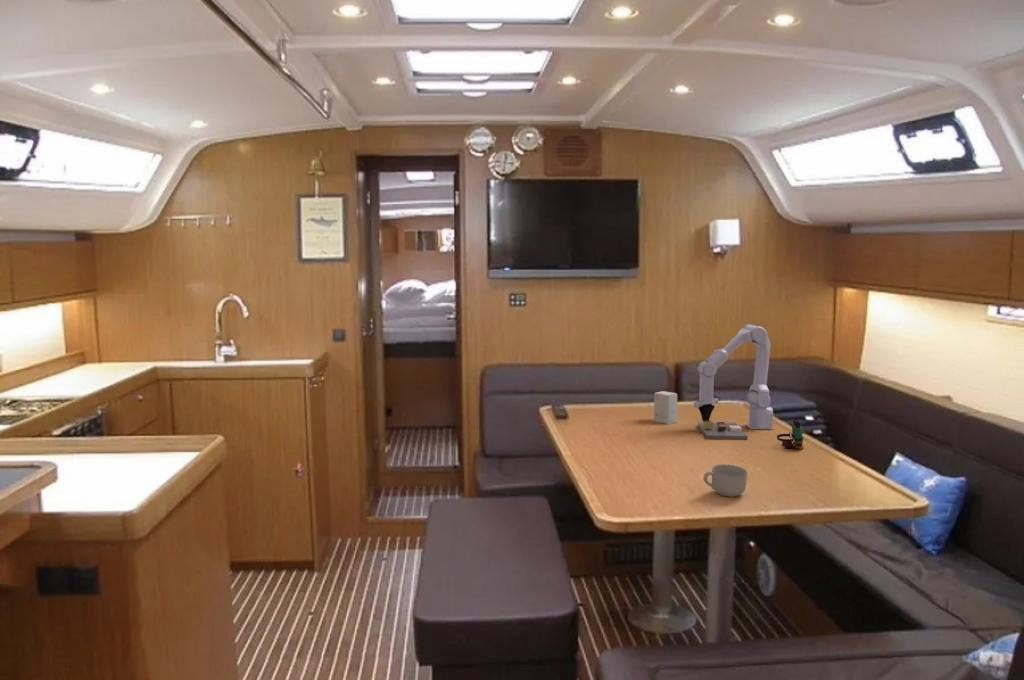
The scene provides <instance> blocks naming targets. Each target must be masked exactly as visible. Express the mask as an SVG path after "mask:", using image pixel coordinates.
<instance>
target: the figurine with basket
mask: <svg viewBox="0 0 1024 680" xmlns="http://www.w3.org/2000/svg"><path fill="white" fill-rule="evenodd" d="M799 420H800V419H798V418H793V419H792V422H793V424H791V432H789V433H780V434H777V435H776V440H778V441H779V442H782V443H781V444H782V446H783V447H784V449H791V448H795V449H798V450H804V445H803V443H804V436H803V435H804V434H805V431H804V430H803V428H802V426H801V424H802V422H800V421H799ZM782 437H789V438H788V439H787V438H782Z"/></svg>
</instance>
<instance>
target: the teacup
mask: <svg viewBox="0 0 1024 680" xmlns="http://www.w3.org/2000/svg"><path fill="white" fill-rule="evenodd" d="M711 470H712V471H706V472H705V473H704V474H703V481H704V483H705V484H706V485H707V486H709V487H711V489H712V490H714V491H715V492H716V493H717V494H719V495H720V496H722V497H728V498H729V497H730V498H735V497H739V496H740V495H741V494H743V493H744V492H745V490H746V487H747V479H748V470H747V469H746V468H744V467H741V466H738V465H734V464H727V463H726V464H722V463H721V464H715V465H713V466H712V467H711ZM709 476H711V482H709V481H708V478H709Z"/></svg>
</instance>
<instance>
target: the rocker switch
mask: <svg viewBox="0 0 1024 680" xmlns="http://www.w3.org/2000/svg"><path fill="white" fill-rule="evenodd" d="M716 423H717V425H718V427H719V429H726V425H725V423H726V422H725V421H716Z"/></svg>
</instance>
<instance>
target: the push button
mask: <svg viewBox="0 0 1024 680" xmlns="http://www.w3.org/2000/svg"><path fill="white" fill-rule="evenodd" d="M742 430H743V428H742V427H741V425H738V424H737V425H729V431H730V432H742Z"/></svg>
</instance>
